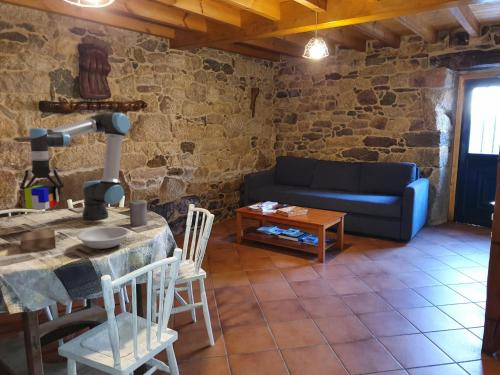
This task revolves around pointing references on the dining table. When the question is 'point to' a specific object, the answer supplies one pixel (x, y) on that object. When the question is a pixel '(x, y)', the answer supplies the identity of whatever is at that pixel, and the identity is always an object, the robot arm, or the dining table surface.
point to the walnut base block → (38, 241)
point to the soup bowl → (103, 237)
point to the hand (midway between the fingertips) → (43, 202)
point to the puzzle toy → (40, 197)
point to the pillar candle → (138, 212)
